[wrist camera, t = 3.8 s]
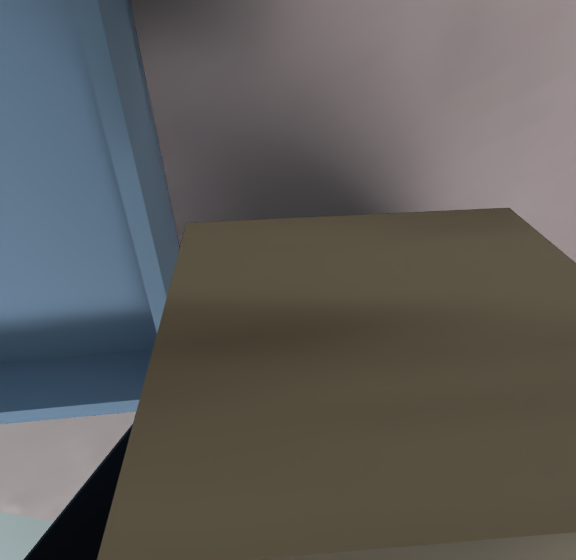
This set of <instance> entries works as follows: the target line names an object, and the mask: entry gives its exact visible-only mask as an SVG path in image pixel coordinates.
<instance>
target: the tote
mask: <svg viewBox="0 0 576 560" xmlns="http://www.w3.org/2000/svg"><path fill="white" fill-rule="evenodd" d="M179 249H180V248H179V243H178V238H177V233H176V228H175V223H174V218H173V213H172V208H171V203H170V198H169V193H168V188H167V183H166V178H165V173H164V168H163V163H162V158H161V153H160V148H159V143H158V138H157V133H156V128H155V123H154V118H153V113H152V108H151V103H150V98H149V93H148V88H147V83H146V78H145V73H144V68H143V63H142V58H141V53H140V48H139V43H138V38H137V33H136V28H135V23H134V18H133V13H132V8H131V3H130V0H0V424H8V423H19V422H29V421H40V420H50V419H61V418H71V417H82V416H93V415H103V414H114V413H124V412H135V411H137V407H138V404H139V400H140V396H141V392H142V389H143V385H144V381H145V377H146V374H147V370H148V366H149V362H150V358H151V355H152V351H153V347H154V343H155V340H156V336H157V332H158V328H159V325H160V321H161V317H162V313H163V310H164V306H165V302H166V298H167V295H168V291H169V287H170V283H171V279H172V276H173V272H174V268H175V264H176V261H177V257H178V253H179Z"/></svg>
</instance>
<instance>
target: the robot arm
mask: <svg viewBox="0 0 576 560" xmlns="http://www.w3.org/2000/svg"><path fill="white" fill-rule="evenodd" d="M132 426H133V424H132V425H131V427H130V428H129V429H128V430H127V432H126V433H125V434H124V435H123V437H122V438H121V439H120V440H119V442H118V443H117V444H116V445H115V447H114V448H113V449H112V450H111V452H110V453H109V454H108V455H107V457H106V458H105V459H104V460H103V462H102V463H101V464H100V465H99V466H98V468H97V469H96V470H95V471H94V473H93V474H92V475H91V476H90V478H89V479H88V480H87V481H86V483H85V484H84V485H83V486H82V488H81V489H80V490H79V491H78V493H77V494H76V495H75V496H74V498H73V499H72V500H71V501H70V503H69V504H68V505H67V506H66V508H65V509H64V510H63V511H62V513H61V514H60V515H59V516H58V517H57V519H56V520H55V521H54V522H53V524H52V525H51V526H50V527H49V529H48V530H47V531H46V533H45V534H44V535H43V536H42V537H41V539H40V540H39V541H38V542H37V544H36V545H35V546H34V547H33V549H32V550H31V551H30V552H29V554H28V555H27V556H26V557H25V559H24V560H97V558H98V554H99V550H100V547H101V543H102V539H103V535H104V532H105V528H106V524H107V520H108V516H109V513H110V509H111V505H112V501H113V498H114V494H115V490H116V486H117V483H118V479H119V475H120V471H121V468H122V464H123V460H124V456H125V453H126V449H127V445H128V441H129V437H130V434H131V430H132Z"/></svg>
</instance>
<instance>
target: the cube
mask: <svg viewBox="0 0 576 560" xmlns="http://www.w3.org/2000/svg"><path fill="white" fill-rule="evenodd" d="M97 560H576V263H575V262H574V261H573V260H572V259H570V258H569V257H568V256H567V255H565V254H564V253H563V252H562V251H561V250H559V249H558V248H557V247H556V246H555V245H553V244H552V243H551V242H550V241H549V240H547V239H546V238H545V237H544V236H543V235H541V234H540V233H539V232H538V231H537V230H535V229H534V228H533V227H532V226H530V225H529V224H528V223H527V222H526V221H524V220H523V219H522V218H521V217H520V216H518V215H517V214H516V213H515V212H514V211H512V210H511V209H510V208H493V209H472V210H450V211H429V212H408V213H386V214H365V215H344V216H322V217H301V218H280V219H258V220H237V221H215V222H194V223H186V227H185V231H184V234H183V238H182V242H181V246H180V249H179V253H178V257H177V261H176V264H175V268H174V272H173V276H172V279H171V283H170V287H169V291H168V295H167V298H166V302H165V306H164V310H163V313H162V317H161V321H160V325H159V328H158V332H157V336H156V340H155V343H154V347H153V351H152V355H151V358H150V362H149V366H148V370H147V374H146V377H145V381H144V385H143V389H142V392H141V396H140V400H139V404H138V407H137V411H136V415H135V419H134V422H133V426H132V430H131V434H130V437H129V441H128V445H127V449H126V453H125V456H124V460H123V464H122V468H121V471H120V475H119V479H118V483H117V486H116V490H115V494H114V498H113V501H112V505H111V509H110V513H109V516H108V520H107V524H106V528H105V532H104V535H103V539H102V543H101V547H100V550H99V554H98V558H97Z"/></svg>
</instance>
